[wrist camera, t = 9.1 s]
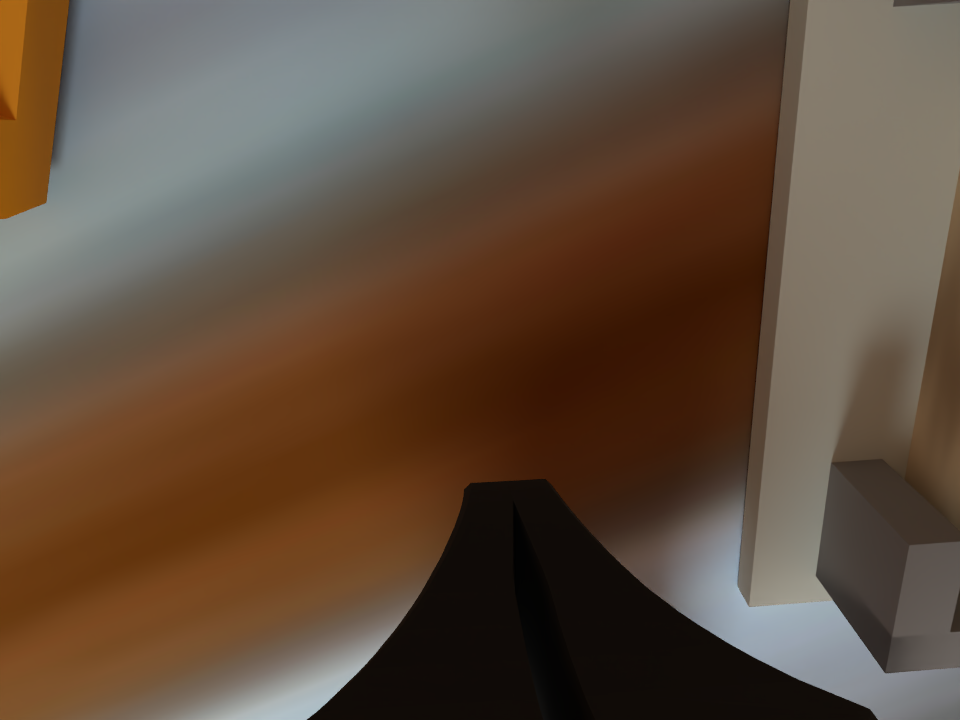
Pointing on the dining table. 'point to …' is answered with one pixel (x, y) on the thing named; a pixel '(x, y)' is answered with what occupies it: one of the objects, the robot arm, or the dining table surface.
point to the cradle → (856, 327)
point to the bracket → (28, 98)
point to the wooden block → (941, 392)
